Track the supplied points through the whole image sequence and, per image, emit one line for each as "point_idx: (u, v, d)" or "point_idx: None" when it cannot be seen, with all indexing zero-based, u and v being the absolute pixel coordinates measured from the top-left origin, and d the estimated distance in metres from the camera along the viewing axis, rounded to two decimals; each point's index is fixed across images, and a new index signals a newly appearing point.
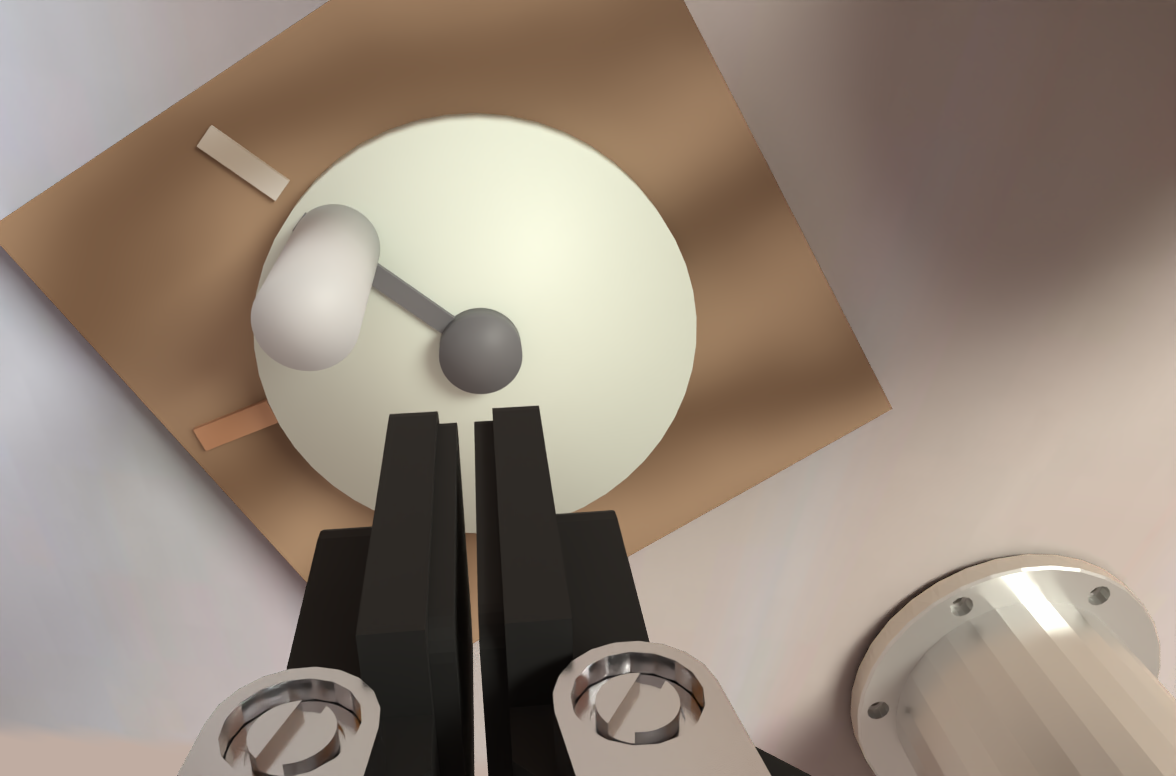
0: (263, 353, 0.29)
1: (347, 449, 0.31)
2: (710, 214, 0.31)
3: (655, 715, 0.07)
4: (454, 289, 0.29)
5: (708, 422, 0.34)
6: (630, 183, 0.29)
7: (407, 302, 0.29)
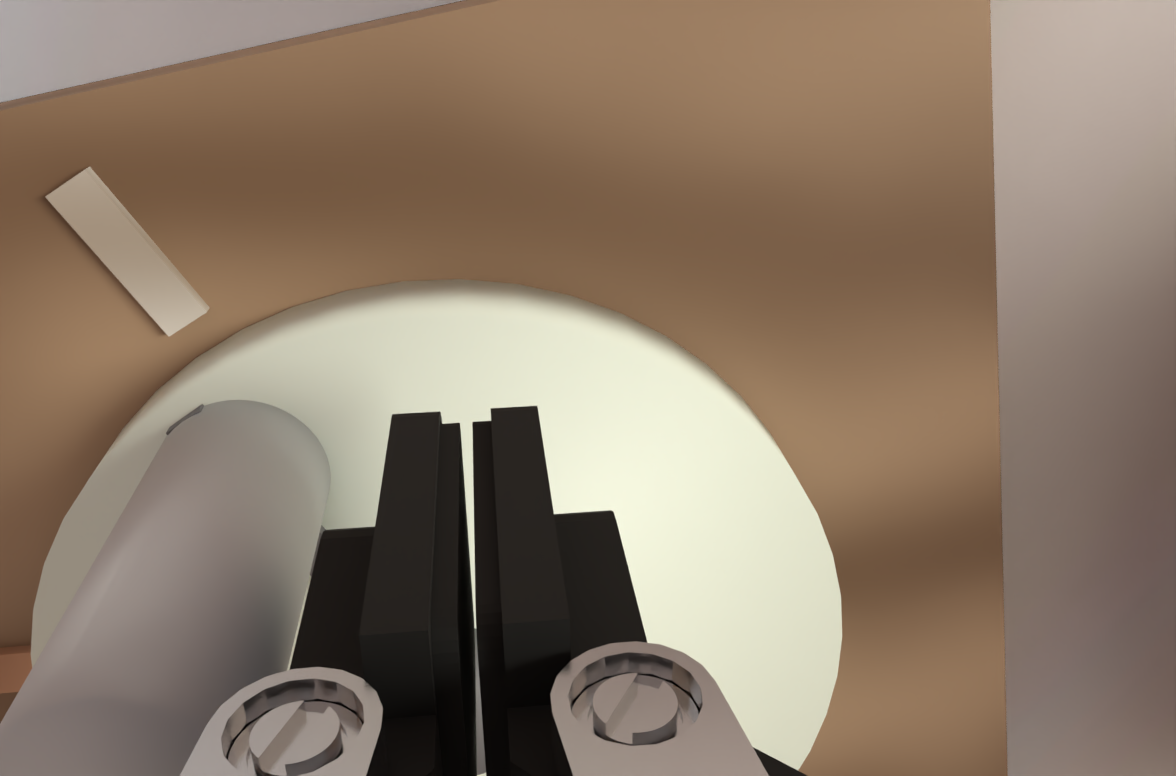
0: (49, 620, 0.15)
1: None
2: (887, 560, 0.18)
3: (652, 715, 0.07)
4: None
5: None
6: (803, 493, 0.16)
7: None
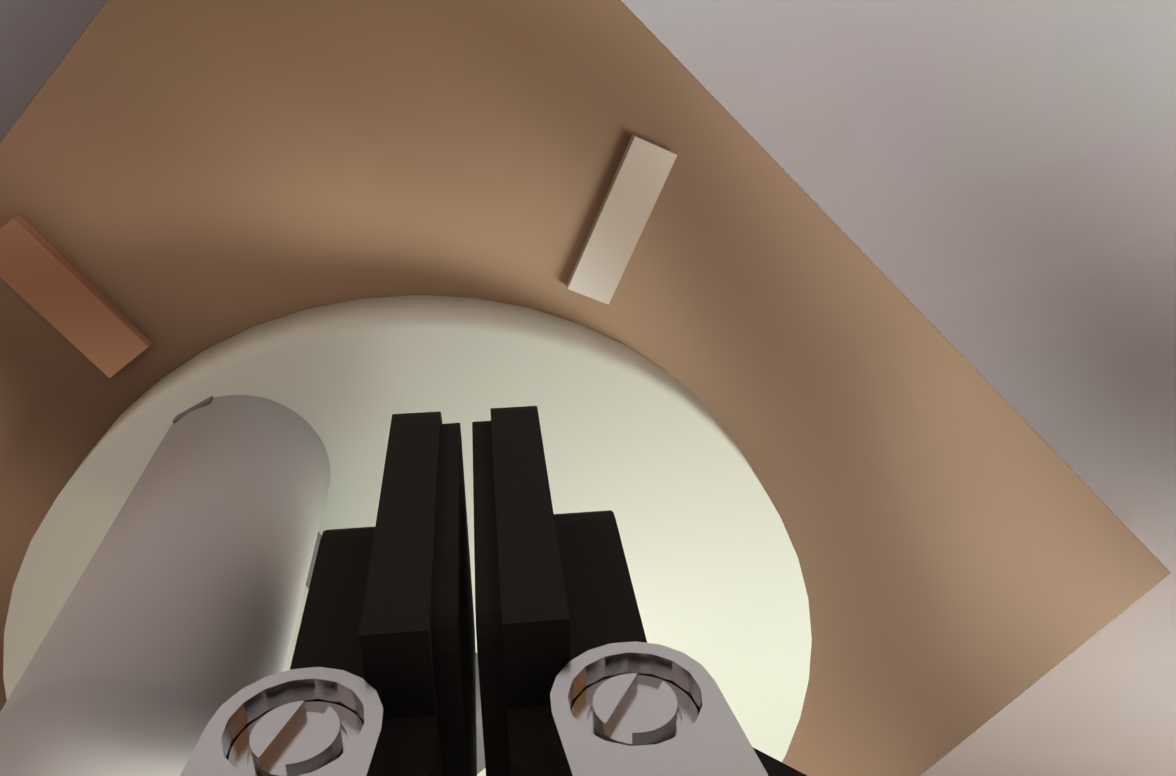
0: (27, 599, 0.15)
1: None
2: None
3: (652, 716, 0.07)
4: None
5: None
6: (786, 536, 0.16)
7: None
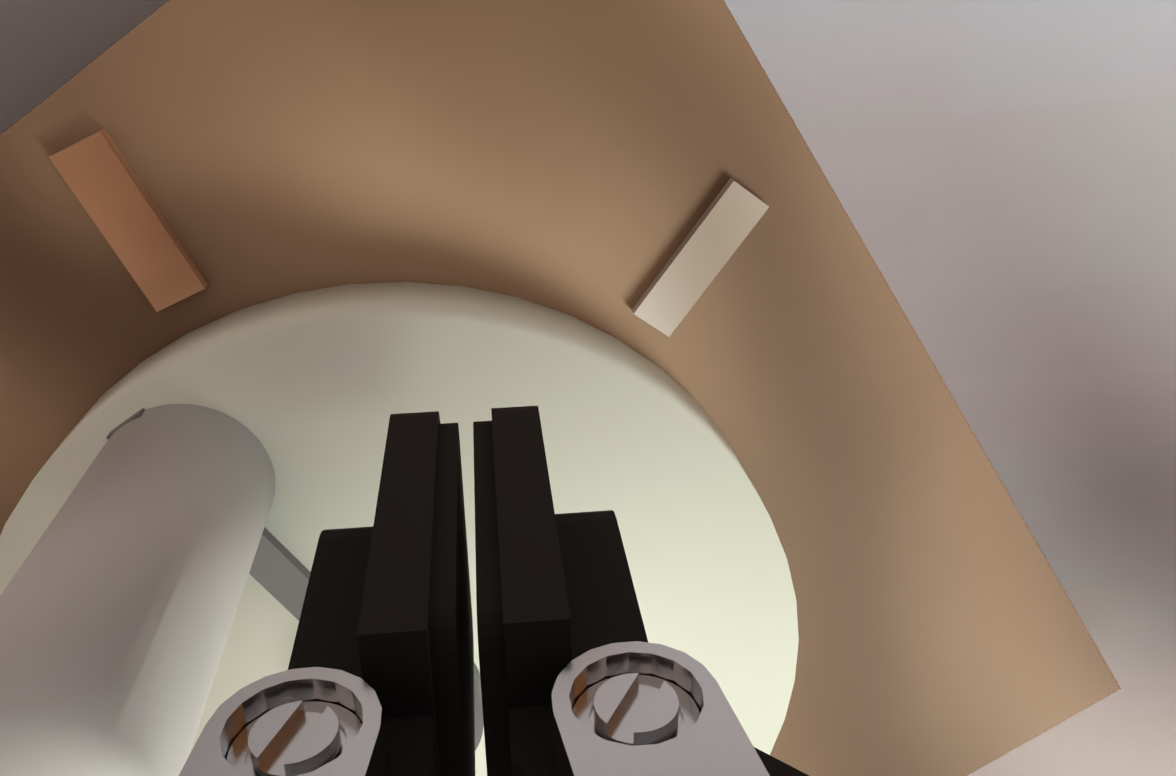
0: None
1: None
2: None
3: (654, 715, 0.07)
4: None
5: None
6: (756, 497, 0.16)
7: (297, 603, 0.15)
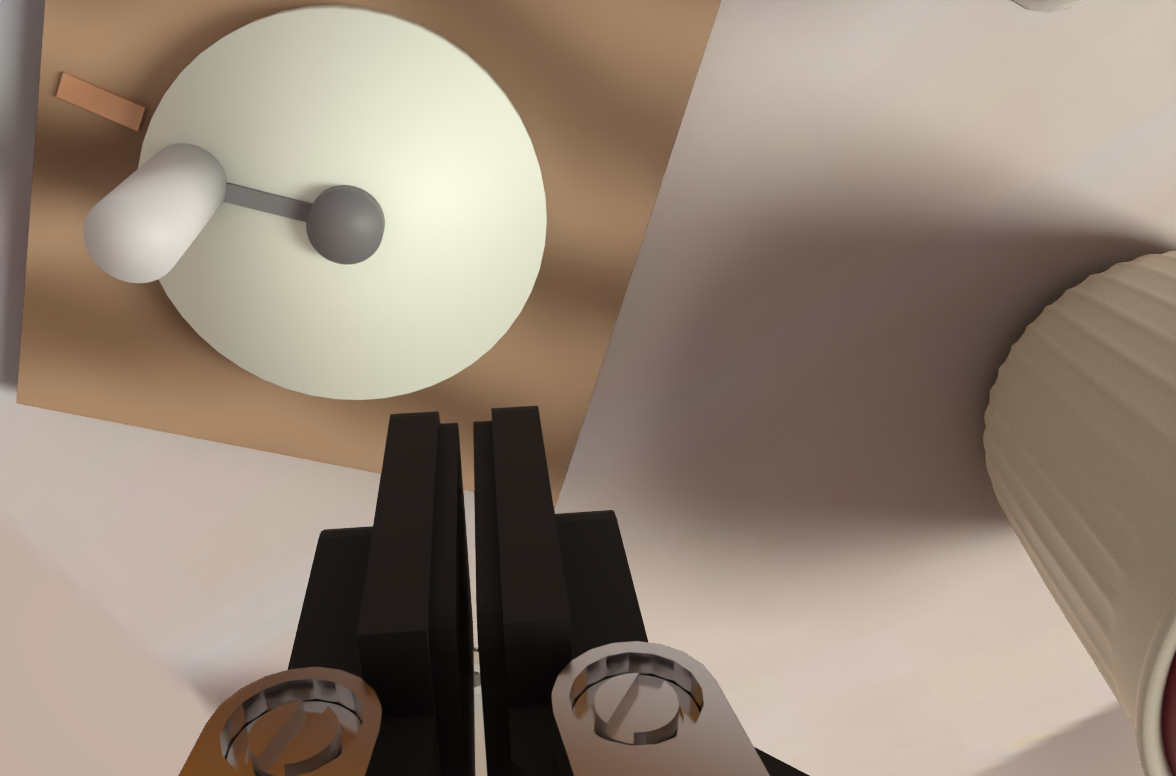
0: (176, 296, 0.34)
1: (283, 353, 0.35)
2: (567, 281, 0.36)
3: (654, 716, 0.07)
4: (301, 180, 0.32)
5: None
6: (402, 24, 0.31)
7: (266, 206, 0.32)
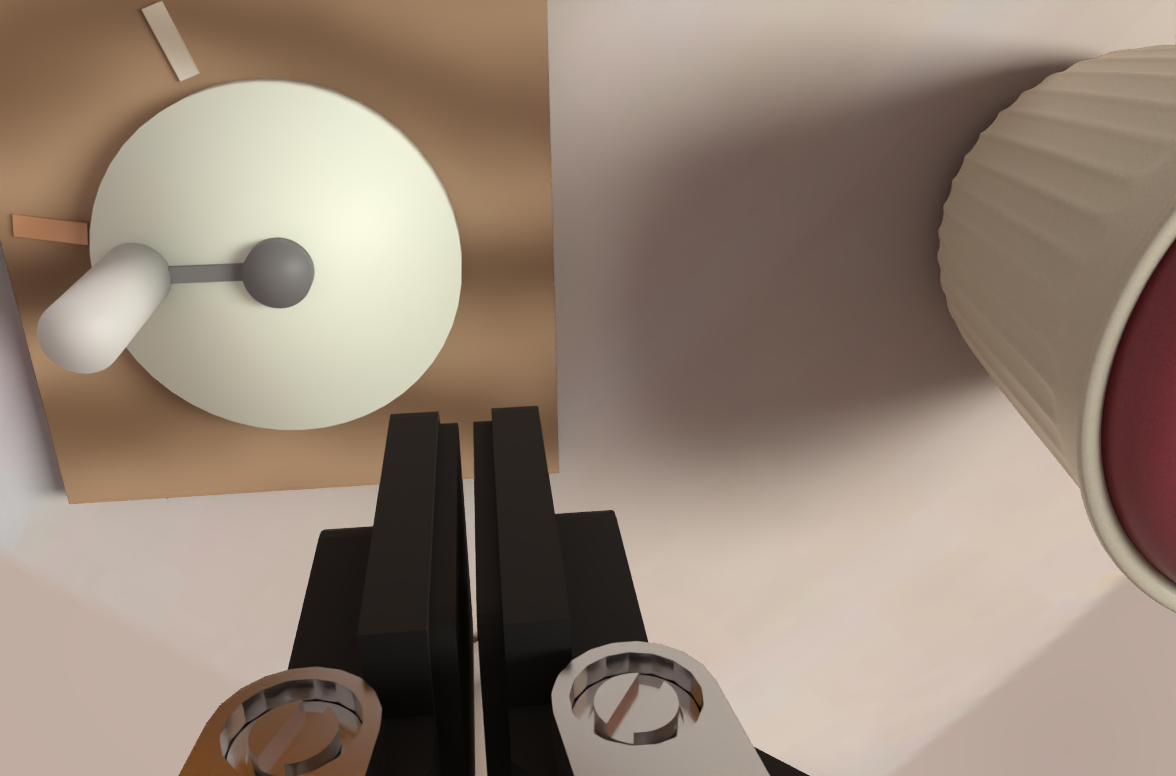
0: (161, 376, 0.38)
1: (266, 399, 0.39)
2: (497, 266, 0.39)
3: (653, 715, 0.07)
4: (229, 245, 0.36)
5: None
6: (267, 84, 0.34)
7: (208, 277, 0.36)
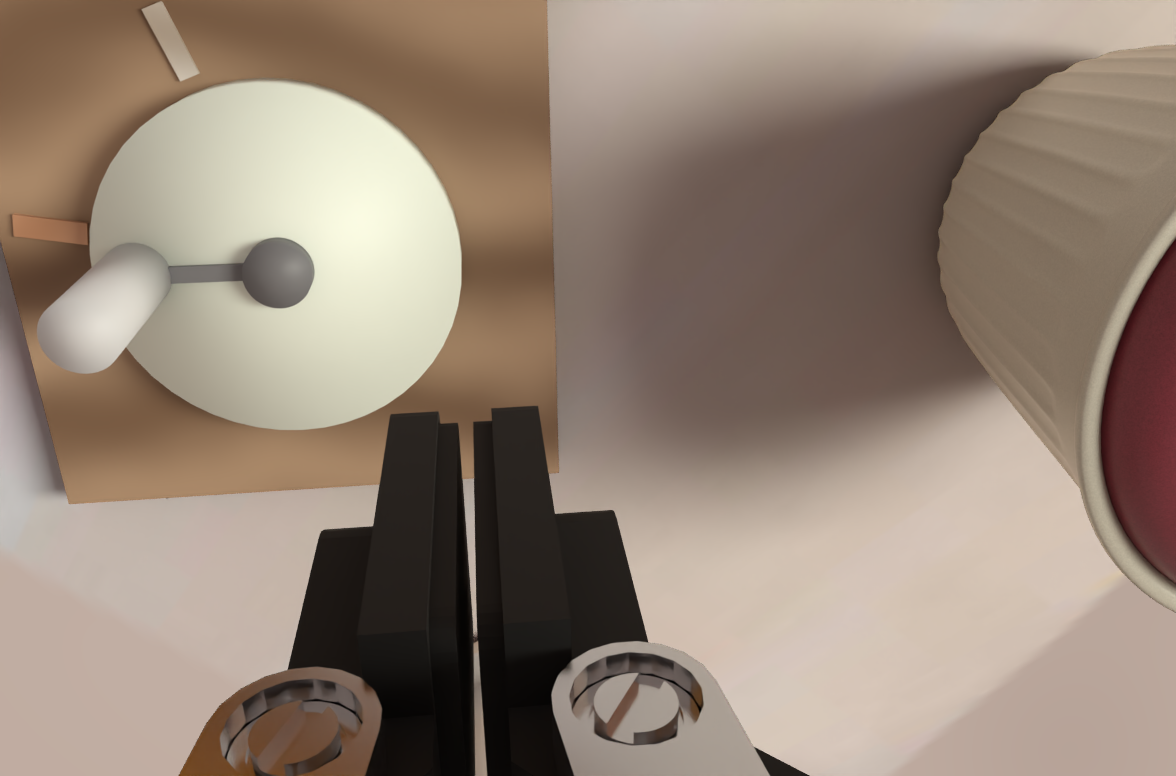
0: (161, 376, 0.38)
1: (266, 399, 0.39)
2: (497, 266, 0.39)
3: (653, 715, 0.07)
4: (229, 245, 0.36)
5: None
6: (267, 84, 0.34)
7: (208, 277, 0.36)
